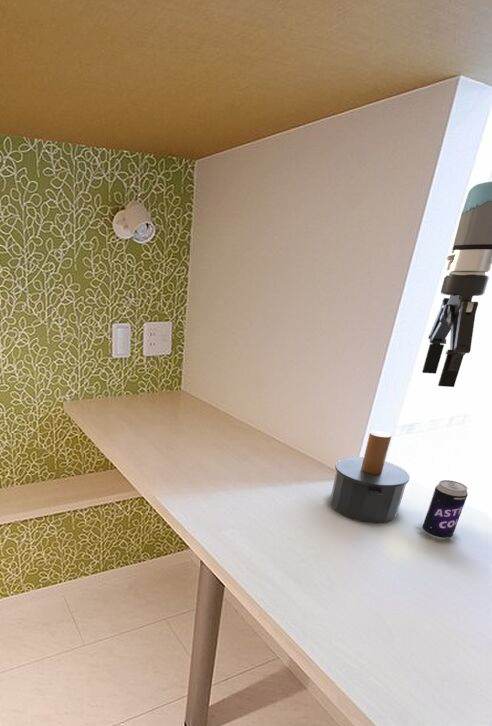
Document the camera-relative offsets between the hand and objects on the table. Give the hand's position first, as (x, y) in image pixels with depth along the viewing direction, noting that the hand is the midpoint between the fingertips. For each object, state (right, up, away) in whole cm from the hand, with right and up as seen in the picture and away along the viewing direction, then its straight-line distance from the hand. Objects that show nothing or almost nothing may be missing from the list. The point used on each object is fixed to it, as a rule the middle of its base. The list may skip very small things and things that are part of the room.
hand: (436, 379), depth 96 cm
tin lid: (-12, -21, +5) cm, 25 cm away
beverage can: (-1, -34, -1) cm, 34 cm away
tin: (-12, -29, +9) cm, 33 cm away
